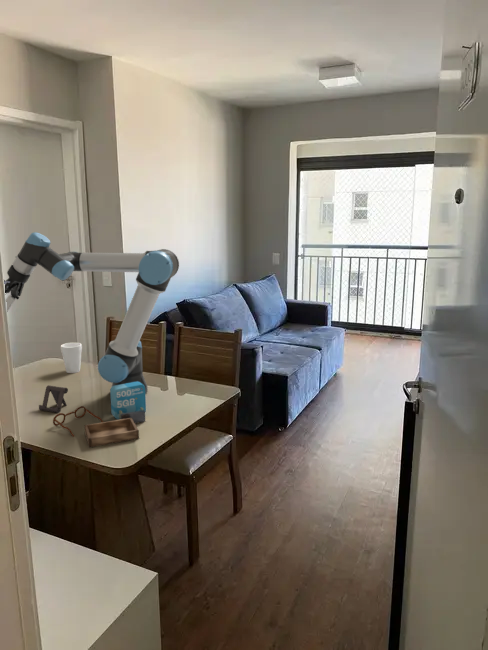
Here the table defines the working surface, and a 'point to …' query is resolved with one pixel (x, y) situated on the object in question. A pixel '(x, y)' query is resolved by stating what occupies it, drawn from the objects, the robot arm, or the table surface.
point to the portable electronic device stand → (58, 396)
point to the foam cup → (72, 356)
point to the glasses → (75, 416)
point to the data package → (127, 398)
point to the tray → (111, 432)
